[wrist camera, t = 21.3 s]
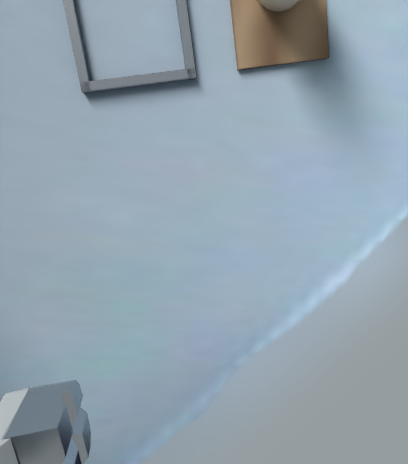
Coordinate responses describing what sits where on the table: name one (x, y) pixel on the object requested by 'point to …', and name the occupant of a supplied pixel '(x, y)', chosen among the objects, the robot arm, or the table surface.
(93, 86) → the parts tray
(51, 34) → the table surface
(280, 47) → the walnut pad
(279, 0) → the cylinder
